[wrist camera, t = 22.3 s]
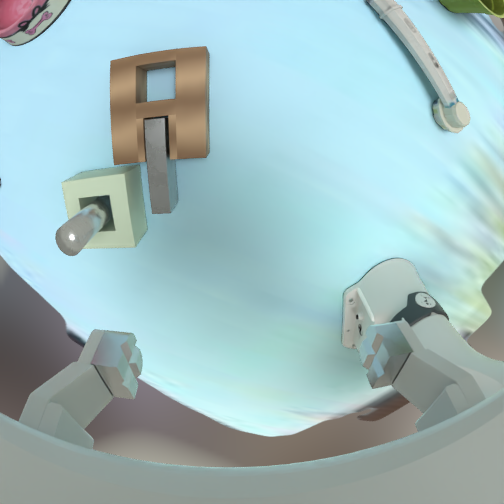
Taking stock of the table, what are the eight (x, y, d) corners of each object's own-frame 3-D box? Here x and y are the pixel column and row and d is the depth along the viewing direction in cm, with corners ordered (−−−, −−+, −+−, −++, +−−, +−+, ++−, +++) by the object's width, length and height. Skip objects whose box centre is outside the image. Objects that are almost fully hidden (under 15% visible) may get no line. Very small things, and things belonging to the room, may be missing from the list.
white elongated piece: (391, -14, 19) (483, 125, 26) (376, 2, 26) (459, 124, 33) (369, -7, 21) (466, 139, 28) (355, 10, 27) (442, 137, 34)
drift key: (178, 201, 38) (170, 213, 34) (161, 201, 38) (152, 213, 33) (173, 117, 32) (164, 117, 28) (155, 119, 32) (144, 120, 28)
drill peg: (126, 210, 38) (84, 255, 26) (105, 211, 38) (60, 256, 25) (122, 187, 36) (76, 225, 24) (102, 189, 36) (52, 227, 24)
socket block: (209, 152, 35) (206, 157, 31) (126, 158, 34) (114, 165, 30) (209, 54, 28) (206, 46, 24) (123, 65, 28) (110, 60, 24)
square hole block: (147, 229, 40) (135, 247, 34) (92, 231, 39) (75, 248, 34) (139, 164, 35) (124, 173, 30) (82, 171, 34) (61, 182, 29)
